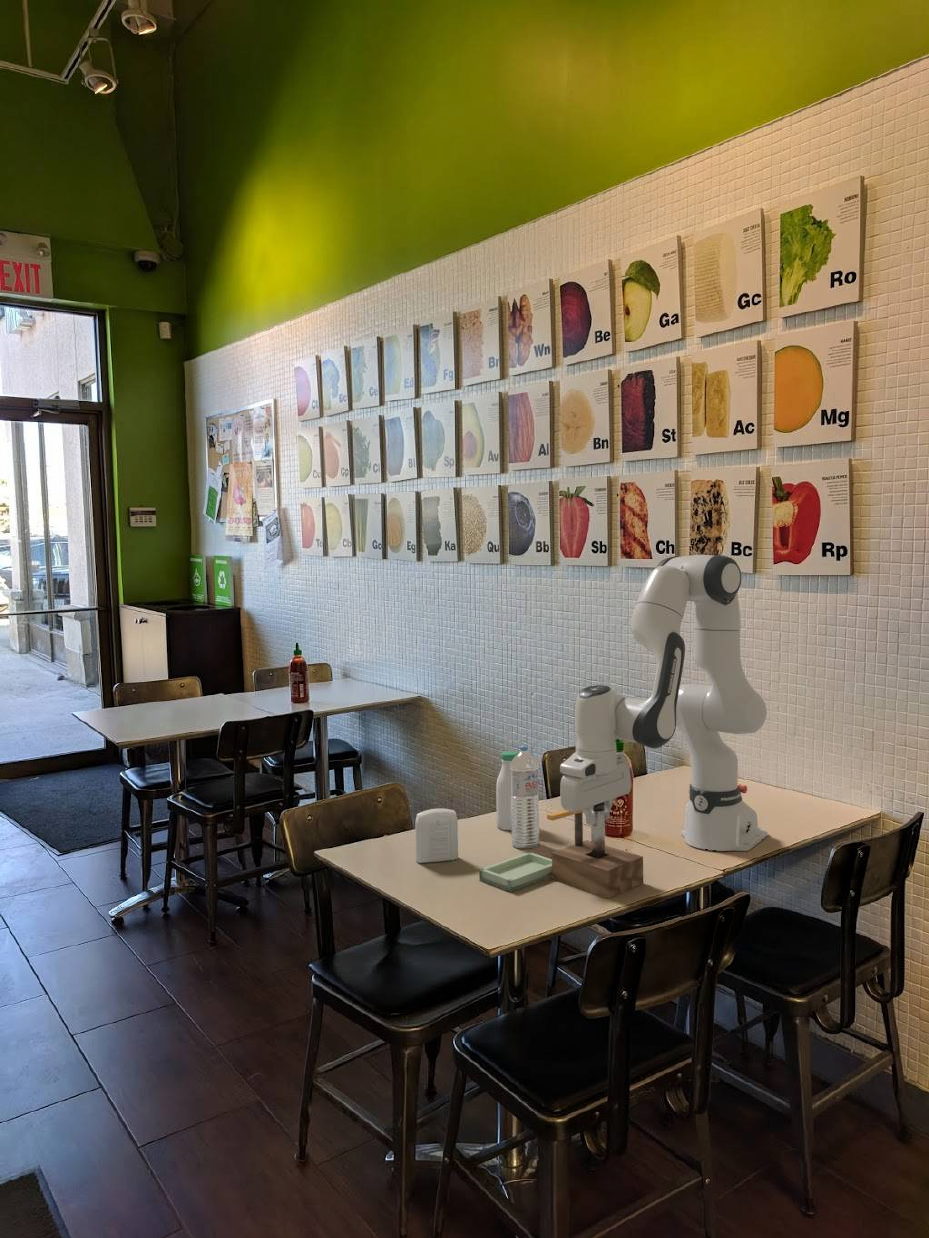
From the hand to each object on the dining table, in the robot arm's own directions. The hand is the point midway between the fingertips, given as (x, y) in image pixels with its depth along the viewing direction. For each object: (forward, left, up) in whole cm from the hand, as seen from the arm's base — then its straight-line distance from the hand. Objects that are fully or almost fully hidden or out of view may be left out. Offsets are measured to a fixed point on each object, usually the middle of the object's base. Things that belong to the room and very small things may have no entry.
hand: (598, 821), depth 201 cm
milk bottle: (-14, -41, -14) cm, 45 cm away
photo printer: (+16, -36, -14) cm, 42 cm away
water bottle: (-6, -28, -14) cm, 32 cm away
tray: (+10, -14, -13) cm, 22 cm away
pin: (0, 0, -9) cm, 9 cm away
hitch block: (0, 0, -13) cm, 13 cm away
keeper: (+2, -7, +1) cm, 8 cm away
